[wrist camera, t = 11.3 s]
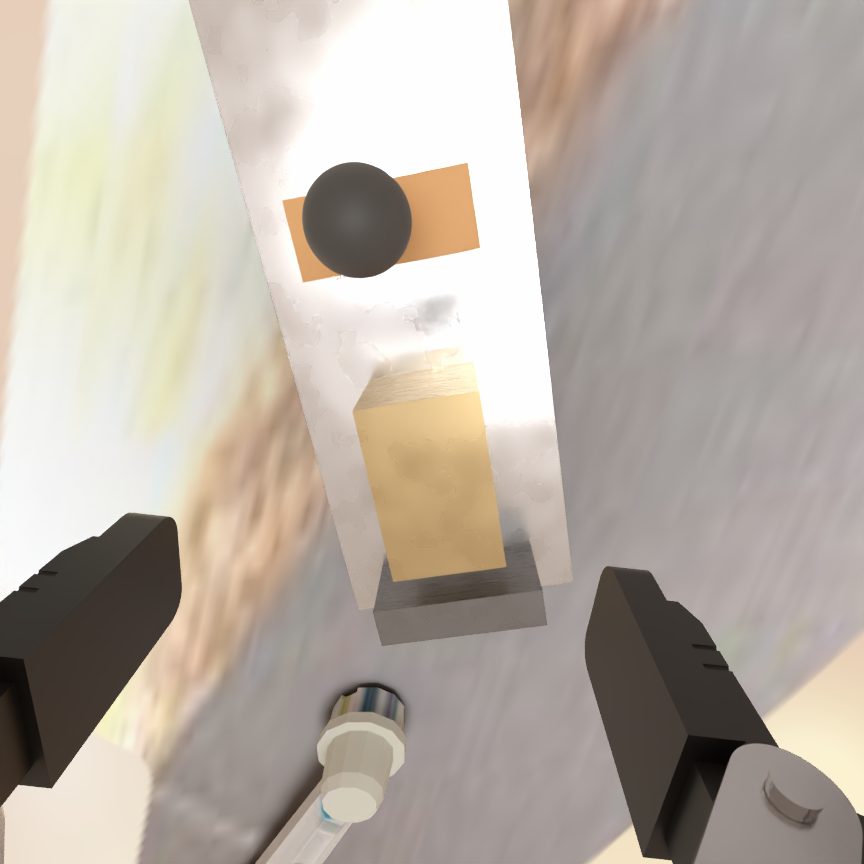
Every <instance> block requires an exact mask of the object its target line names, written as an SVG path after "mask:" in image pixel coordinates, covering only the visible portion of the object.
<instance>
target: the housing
mask: <svg viewBox="0 0 864 864" xmlns="http://www.w3.org/2000/svg"><path fill="white" fill-rule="evenodd" d="M352 412H353V417H354V421H355V425H356V429H357V433H358V437H359V442H360V446H361V450H362V454H363V458H364V462H365V467H366V471H367V475H368V479H369V483H370V487H371V491H372V496H373V500H374V504H375V508H376V512H377V516H378V521H379V525H380V529H381V533H382V537H383V541H384V546H385V550H386V554H387V558H388V562H389V566H390V571H391V575H392V579H393V582H397V581H405V580H412V579H420V578H427V577H435V576H443V575H450V574H458V573H465V572H473V571H481V570H488V569H496V568H503V567H506V560H505V554H504V547H503V541H502V534H501V528H500V521H499V515H498V508H497V502H496V495H495V489H494V482H493V476H492V469H491V463H490V456H489V450H488V443H487V437H486V430H485V424H484V417H483V411H482V404H481V398H480V391H479V386H478V380H477V375H476V369H475V364H474V361H473V362H467V363H461V364H455V365H449V366H443V367H437V368H431V369H425V370H419V371H413V372H407V373H401V374H395V375H389V376H383V377H377V378H371V379H370V380H369V382H368V383H367V385H366V387H365V389H364V391H363V393H362V394H361V396H360V398H359V400H358V402H357V404H356V405H355V407H354V409H353V411H352Z"/></svg>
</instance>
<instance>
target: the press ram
mask: <svg viewBox="0 0 864 864" xmlns="http://www.w3.org/2000/svg"><path fill="white" fill-rule="evenodd" d="M282 203H283V207H284V211H285V214H286V218H287V222H288V226H289V230H290V234H291V238H292V242H293V246H294V250H295V253H296V257H297V261H298V265H299V269H300V273H301V277H302V281H303V283H304V282H309V281H314V280H319V279H325V278H330V277H335V276H340V275H342V276H345V277H349V278H370V277H374V276H377V275H380V274H382V273H384V272H386V271H387V270H389V269H390V268H391V267H393V266H394V265H397V264H403V263H408V262H413V261H418V260H423V259H429V258H434V257H439V256H444V255H449V254H455V253H460V252H465V251H470V250H475V249H481V247H480V240H479V233H478V226H477V219H476V212H475V206H474V199H473V192H472V185H471V178H470V171H469V164H468V162H465V163H461V164H456V165H451V166H446V167H441V168H437V169H432V170H427V171H422V172H417V173H412V174H408V175H403V176H398V177H392V176H390V175H389V174H388V173H387V172H385V171H384V170H382V169H381V168H378V167H376V166H374V165H371V164H368V163H363V162H345V163H341V164H338V165H335V166H333V167H331V168H329V169H328V170H326V171H324V172H323V173H322V174H321V175H320V176H319V177H318V178H317V179H316V180H315V181H314V182H313V184H312V185H311V187H310V188H309V190H308V192H307V195H306V196H302V197H297V198H292V199H287V200H282Z"/></svg>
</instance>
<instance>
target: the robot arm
mask: <svg viewBox="0 0 864 864" xmlns="http://www.w3.org/2000/svg"><path fill="white" fill-rule="evenodd" d="M181 592H182V583H181V570H180V558H179V545H178V532H177V525H176V522H175V520H174V519H173V518H171V517H165V516H156V515H147V514H138V513H127V514H125V515H124V516H123V517H121V518H120V519H119V520H118V521H117V522H116V523H114V524H113V525H112V526H111V527H110V528H109V529H108V530H106V531H105V532H104V533H103V534H102V535H101V536H100V537H95V536H93V537H91V538H89V539H86V540H84V541H82V542H80V543H78V544H76V545H74V546H72V547H70V548H68V549H66V550H64V551H62V552H61V553H59V554H58V555H57V556H56V557H54V558H53V559H52V560H51V561H50V562H48V563H47V564H46V565H45V566H44V567H42V568H41V569H40V570H39V573H38V574H34V575H33V576H31V577H30V578H29V579H28V580H27V581H25V582H24V583H23V584H22V585H21V586H19V590H18V591H13V592H12V593H11V594H10V595H8V596H7V597H6V598H5V599H4V600H2V601H1V602H0V864H4V829H5V827H4V826H5V817H4V811H3V807H2V805H3V803H4V802H5V801H6V799H7V798H8V797H9V796H10V794H11V793H12V792H13V790H14V789H15V788H16V787H17V785H27V786H35V787H45V788H52V787H53V786H54V784H55V783H56V782H57V780H58V779H59V777H60V776H61V775H62V773H63V772H64V770H65V769H66V768H67V766H68V765H69V763H70V762H71V761H72V759H73V758H74V757H75V755H76V754H77V752H78V751H79V749H80V748H81V747H82V745H83V744H84V743H85V741H86V740H87V738H88V737H89V736H90V734H91V733H92V732H93V730H94V729H95V727H96V726H97V725H98V723H99V722H100V720H101V719H102V718H103V716H104V715H105V713H106V712H107V711H108V709H109V708H110V707H111V705H112V704H113V702H114V701H115V700H116V698H117V697H118V695H119V694H120V693H121V691H122V690H123V688H124V687H125V686H126V684H127V683H128V682H129V680H130V679H131V677H132V676H133V675H134V673H135V672H136V670H137V669H138V668H139V666H140V665H141V663H142V662H143V661H144V659H145V658H146V657H147V655H148V654H149V652H150V651H151V650H152V648H153V647H154V645H155V644H156V643H157V641H158V640H159V638H160V637H161V636H162V634H163V633H164V631H165V630H166V629H167V627H168V626H169V625H170V623H171V622H172V620H173V618H174V616H175V614H176V612H177V609H178V607H179V603H180V599H181ZM585 659H586V666H587V670H588V673H589V677H590V680H591V683H592V687H593V690H594V694H595V697H596V700H597V704H598V707H599V710H600V714H601V717H602V721H603V724H604V727H605V731H606V734H607V737H608V741H609V744H610V748H611V751H612V754H613V758H614V761H615V764H616V768H617V771H618V774H619V778H620V781H621V785H622V788H623V791H624V795H625V798H626V801H627V805H628V808H629V812H630V815H631V818H632V822H633V825H634V828H635V832H636V835H637V839H638V842H639V845H640V849H641V852H642V855H643V857H647V858H656V859H665V860H672V862H673V864H864V816H862V815H860V814H858V813H856V811H855V809H854V807H853V806H852V804H851V803H850V801H849V800H848V798H847V797H846V796H845V795H844V793H843V792H842V791H841V790H840V789H839V788H838V787H837V785H836V784H834V782H833V781H832V780H831V779H829V778H828V777H827V776H826V775H825V774H824V773H823V772H821V771H820V770H818V769H817V768H816V767H815V766H813V765H812V764H810V763H809V762H807V761H806V760H804V759H802V758H801V757H799V756H797V755H795V754H792V753H791V752H788V751H786V750H784V749H781V748H779V747H778V745H777V743H776V742H775V740H774V739H773V737H772V735H771V734H770V732H769V731H768V729H767V728H766V726H765V724H764V722H763V721H762V719H761V718H760V716H759V714H758V713H757V711H756V710H755V708H754V706H753V705H752V703H751V701H750V700H749V698H748V697H747V695H746V693H745V692H744V690H743V689H742V687H741V685H740V684H739V682H738V681H737V679H736V677H735V676H734V674H733V672H731V671H729V669H728V667H729V666H728V664H727V663H726V661H725V660H724V658H723V656H722V655H721V653H720V651H717V650H716V645H715V643H714V642H713V640H712V639H711V637H710V635H709V634H708V632H707V631H706V629H705V627H704V626H703V624H702V623H701V622H700V621H699V620H698V619H697V618H696V617H695V616H693V615H692V614H691V613H690V612H689V611H688V610H687V609H685V608H684V607H683V606H682V605H681V604H680V603H679V602H674V601H667V600H666V598H665V596H664V595H663V593H662V591H661V589H660V588H659V586H658V584H657V582H656V580H655V579H654V577H653V575H652V574H651V573H650V572H649V571H647V570H637V569H628V568H619V567H610V566H607V567H605V568H604V570H603V572H602V574H601V577H600V581H599V585H598V589H597V593H596V597H595V601H594V605H593V608H592V612H591V616H590V620H589V624H588V628H587V632H586V639H585Z"/></svg>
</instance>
